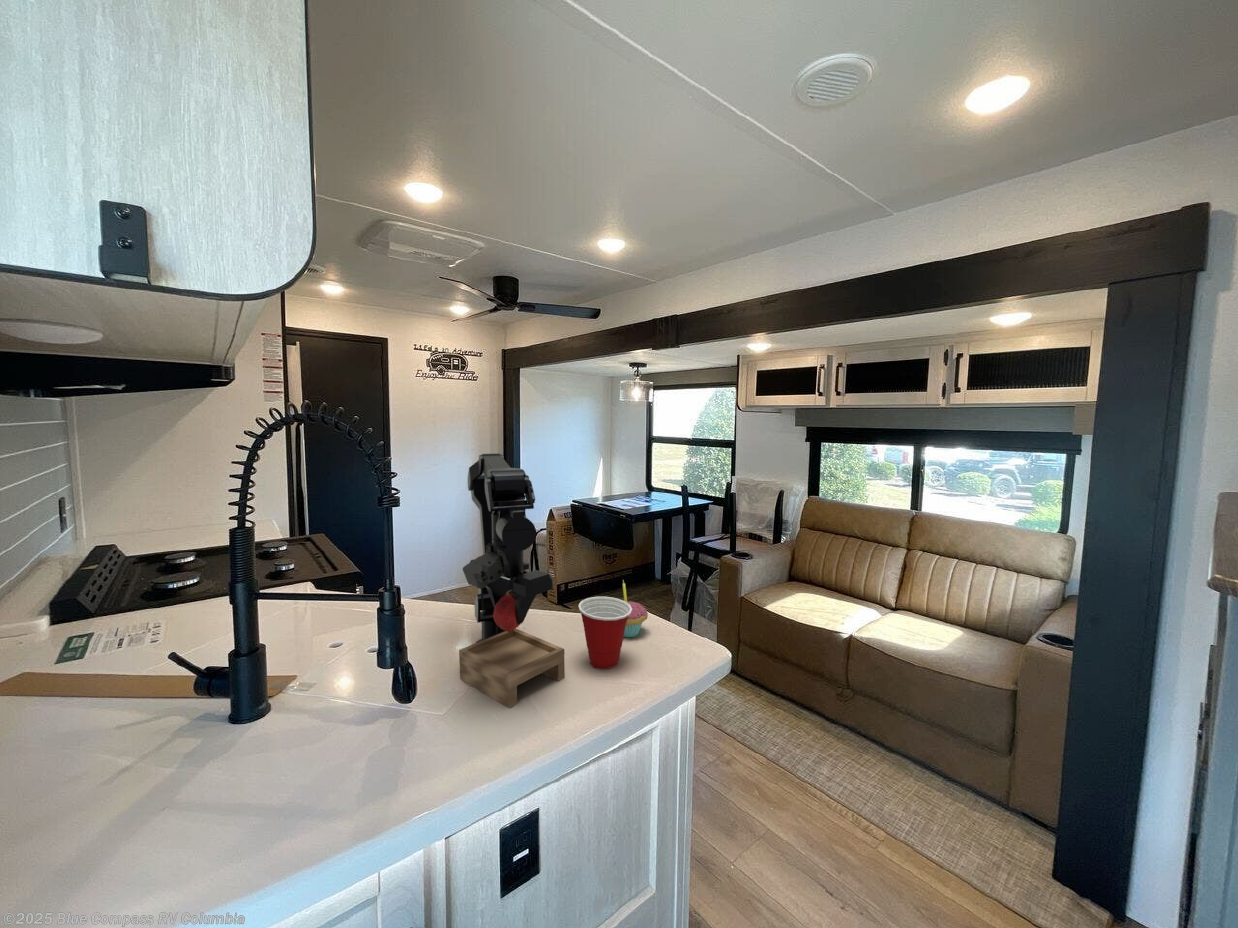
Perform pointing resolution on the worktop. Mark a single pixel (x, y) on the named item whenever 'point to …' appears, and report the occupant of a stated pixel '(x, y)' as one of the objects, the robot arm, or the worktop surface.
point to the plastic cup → (604, 629)
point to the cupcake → (634, 617)
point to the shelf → (509, 663)
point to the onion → (505, 613)
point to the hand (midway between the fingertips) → (509, 618)
